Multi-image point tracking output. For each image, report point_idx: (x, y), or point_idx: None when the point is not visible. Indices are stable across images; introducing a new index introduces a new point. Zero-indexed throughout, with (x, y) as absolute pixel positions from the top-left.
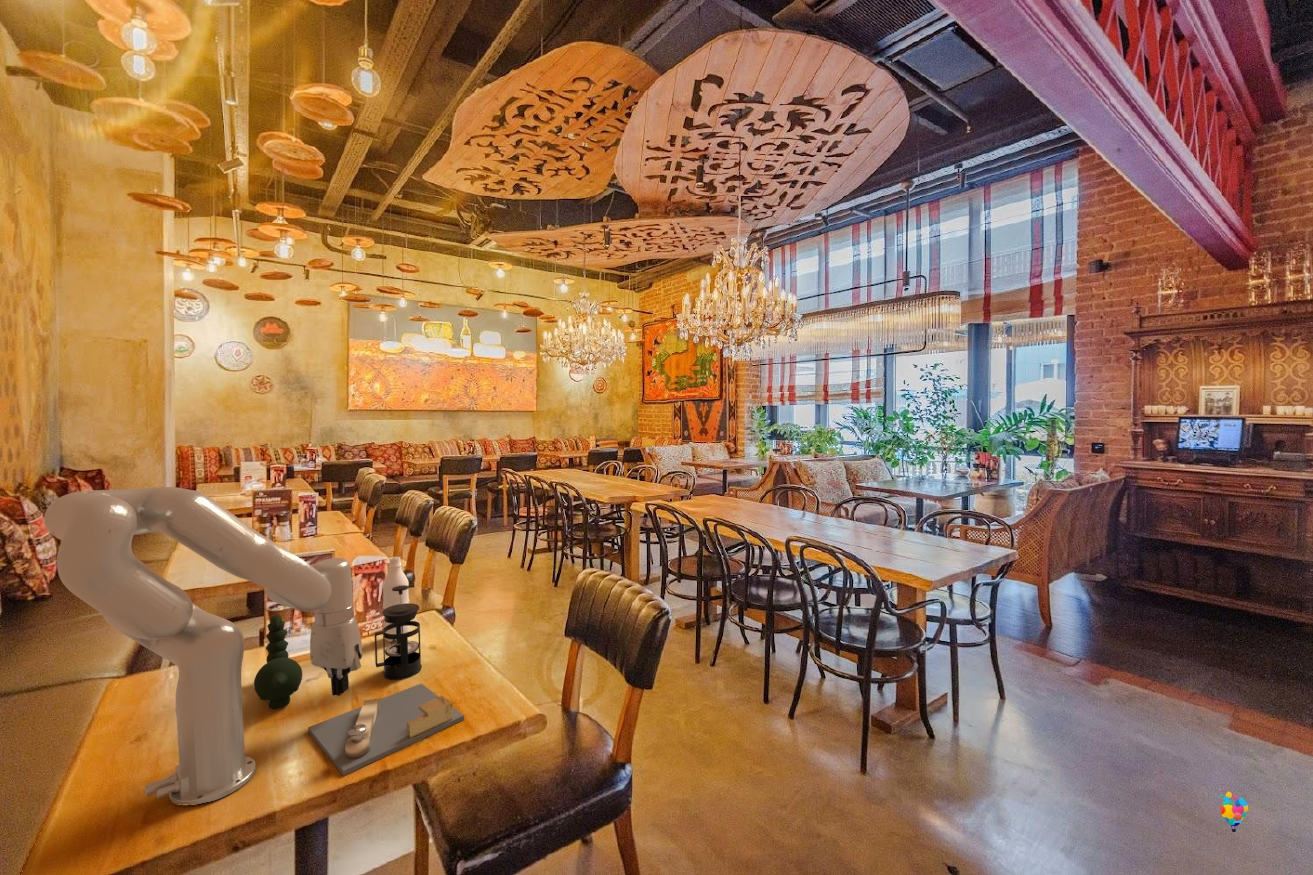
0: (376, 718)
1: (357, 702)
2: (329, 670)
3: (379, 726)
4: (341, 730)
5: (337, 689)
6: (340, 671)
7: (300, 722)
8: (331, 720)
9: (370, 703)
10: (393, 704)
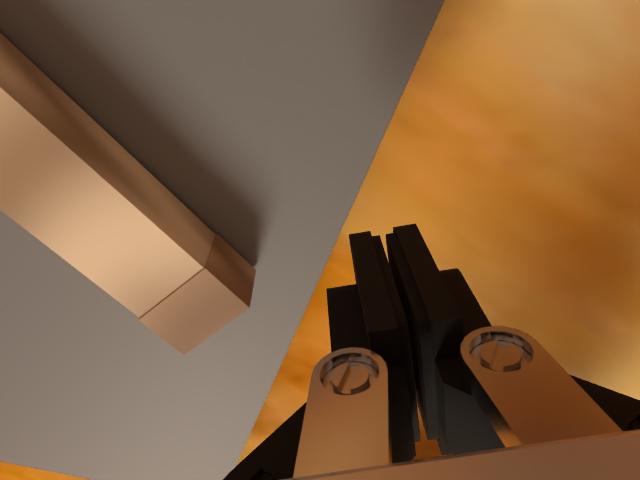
0: None
1: None
2: (539, 411)
3: None
4: (179, 57)
5: (355, 262)
6: (325, 444)
7: (586, 50)
8: (360, 119)
9: (173, 298)
10: (165, 359)
